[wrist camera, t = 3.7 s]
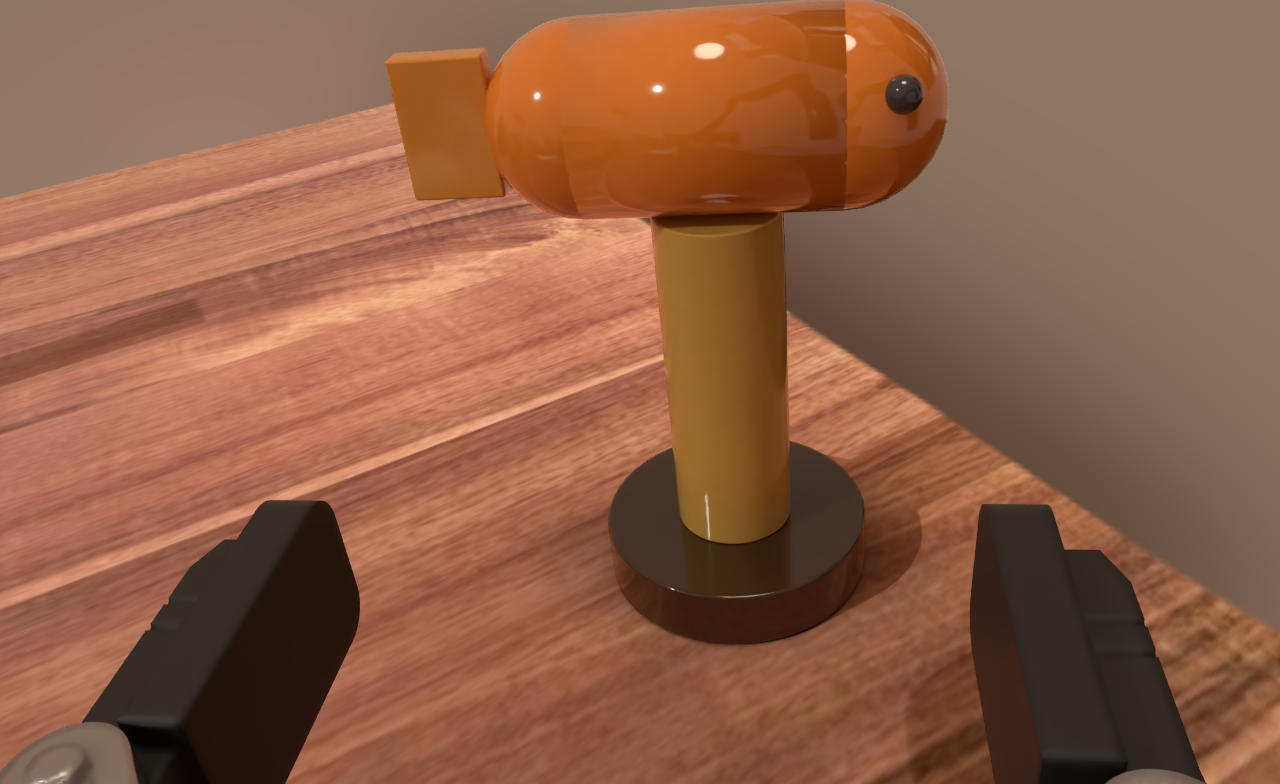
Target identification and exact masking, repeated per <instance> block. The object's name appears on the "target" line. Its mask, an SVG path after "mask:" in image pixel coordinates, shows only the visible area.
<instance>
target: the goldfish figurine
mask: <svg viewBox="0 0 1280 784" xmlns="http://www.w3.org/2000/svg"><path fill="white" fill-rule="evenodd" d="M386 67H387V72H388V76H389V81H390V86H391V90H392V95H393V99H394V104H395V108H396V113H397V117H398V122H399V126H400V130H401V135H402V139H403V144H404V148H405V153H406V157H407V162H408V166H409V171H410V175H411V180H412V184H413V188H414V193H415V197H416V200H442V199H467V198H492V197H504V196H506V194H507V192H508V190H509V189H510V186H511V188H512V189H513V190H514V191H515V192H516V193H517V194H519V195H520V196H521V197H522V198H524V199H525V200H526V201H527V202H529V203H530V204H532V205H533V206H535V207H537V208H539V209H541V210H543V211H545V212H548V213H551V214H555V215H558V216H562V217H565V218H570V219H585V220H592V219H619V218H645V217H646V218H647V217H650V221H651V232H652V242H653V252H654V262H655V272H656V283H657V293H658V303H659V313H660V323H661V334H662V344H663V354H664V364H665V374H666V385H667V395H668V405H669V415H670V425H671V435H672V446H673V448H670V449H668V450H665V451H663V452H661V453H659V454H657V455H655V456H654V457H652V458H650V459H649V460H647V461H646V462H644V463H643V464H642V465H640V466H639V467H638V468H636V469H635V470H634V471H633V472H632V473H631V474H630V475H629V476H628V477H627V478H626V479H625V480H624V482H623V483H622V484H621V486H620V487H619V488H618V490H617V492H616V494H615V496H614V498H613V500H612V503H611V506H610V509H609V517H608V527H609V536H610V543H611V549H612V556H613V563H614V570H615V574H616V578H617V581H618V583H619V585H620V588H621V590H622V592H623V593H624V595H625V596H626V597H627V599H628V600H629V601H630V603H631V604H632V605H633V606H634V607H635V608H636V609H637V610H638V611H639V612H640V613H641V614H643V615H644V616H645V617H647V618H648V619H649V620H651V621H652V622H654V623H656V624H657V625H659V626H661V627H663V628H665V629H667V630H669V631H672V632H674V633H677V634H679V635H682V636H686V637H689V638H693V639H696V640H702V641H708V642H714V643H727V644H743V643H756V642H764V641H770V640H774V639H779V638H783V637H786V636H789V635H792V634H795V633H798V632H801V631H803V630H805V629H807V628H809V627H812V626H814V625H815V624H817V623H819V622H820V621H822V620H824V619H825V618H827V617H828V616H830V615H831V614H832V613H833V612H835V611H836V610H837V609H838V608H839V607H840V606H841V605H842V604H843V603H844V602H845V601H846V600H847V599H848V598H849V596H850V595H851V593H852V592H853V590H854V589H855V587H856V586H857V583H858V581H859V579H860V577H861V574H862V570H863V565H864V545H865V507H864V501H863V498H862V496H861V493H860V491H859V489H858V487H857V485H856V484H855V482H854V481H853V479H852V478H851V477H850V475H849V474H848V473H847V472H846V471H845V470H844V469H843V468H842V467H841V466H840V465H838V464H837V463H836V462H835V461H833V460H832V459H830V458H829V457H827V456H826V455H824V454H822V453H820V452H818V451H816V450H814V449H812V448H810V447H807V446H804V445H802V444H799V443H796V442H792V441H790V435H789V394H788V354H787V313H786V273H785V235H784V233H785V232H784V213H785V212H812V211H840V210H850V209H858V208H864V207H867V206H870V205H873V204H876V203H879V202H882V201H884V200H886V199H888V198H890V197H891V196H893V195H895V194H897V193H898V192H900V191H902V190H903V189H904V188H905V187H906V186H908V185H909V184H910V183H911V182H912V181H914V180H915V179H916V178H917V177H918V176H919V175H920V174H921V172H922V171H923V170H924V169H925V168H926V166H927V165H928V164H929V163H930V161H931V160H932V158H933V157H934V155H935V153H936V151H937V149H938V147H939V145H940V143H941V141H942V139H943V135H944V132H945V129H946V125H947V122H948V117H949V109H950V87H949V81H948V77H947V73H946V69H945V66H944V61H943V60H942V58H941V56H940V54H939V52H938V50H937V48H936V46H935V44H934V42H933V41H932V39H931V38H930V37H929V36H928V35H927V33H926V32H925V31H924V30H923V28H922V27H921V26H920V25H919V24H918V23H916V22H915V21H914V20H913V19H911V18H910V17H909V16H908V15H906V14H905V13H904V12H902V11H900V10H898V9H895V8H894V7H891V6H889V5H888V4H885V3H881V2H878V1H874V0H799V1H785V2H769V3H755V4H740V5H725V6H711V7H696V8H681V9H666V10H651V11H636V12H622V13H607V14H592V15H578V16H570V17H564V18H558V19H554V20H551V21H549V22H546V23H544V24H541V25H539V26H536V27H535V28H534V29H532V30H531V31H529V32H528V33H526V34H525V35H524V36H522V37H520V38H519V39H518V40H517V41H516V42H515V43H514V44H513V45H512V46H511V47H510V48H509V49H508V50H507V51H506V52H505V53H504V55H503V56H502V58H501V60H500V61H499V63H498V65H497V66H496V68H495V70H494V71H493V74H492V73H491V68H490V61H489V55H488V51H487V49H486V48H472V49H458V50H457V49H456V50H440V51H425V52H409V53H396V54H394V55H392V56H391V57H390V58H389V59H388V60H387V61H386Z"/></svg>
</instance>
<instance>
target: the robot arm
mask: <svg viewBox="0 0 1280 784" xmlns="http://www.w3.org/2000/svg"><path fill="white" fill-rule="evenodd" d="M359 614H360V598H359V591H358V587H357V584H356V581H355V577H354V574H353V571H352V568H351V565H350V562H349V558H348V555H347V552H346V549H345V546H344V543H343V539H342V536H341V533H340V530H339V527H338V524H337V520H336V517H335V514H334V512H333V510H332V508H331V506H330V505H329V504H328V503H327V502H325V501H296V500H269V501H265V502H263V503H262V504H261V505H260V506H259V507H258V509H257V510H256V511H255V513H254V514H253V516H252V517H251V519H250V520H249V522H248V523H247V525H246V526H245V528H244V529H243V531H242V532H241V534H240V535H239V537H238V538H237V540H224V541H222V542H221V543H220V544H219V545H217V546H216V547H215V548H214V549H212V550H211V551H210V552H209V553H207V554H206V555H205V556H204V557H202V558H201V559H200V560H199V561H197V562H196V563H195V564H193V565H192V566H191V567H190V568H189V570H188V571H187V573H186V574H185V575H184V577H183V578H182V580H181V581H180V583H179V584H178V585H177V587H176V588H175V590H174V591H173V593H172V594H171V595H170V597H169V603H168V605H163V607H162V608H161V610H160V611H159V613H158V614H157V615H156V617H155V618H154V620H153V621H152V623H151V629H150V631H149V630H146V631H145V633H144V634H143V636H142V637H141V638H140V640H139V641H138V643H137V644H136V646H135V647H134V648H133V650H132V651H131V653H130V654H129V656H128V657H127V658H126V660H125V661H124V663H123V664H122V666H121V667H120V668H119V670H118V671H117V673H116V674H115V676H114V677H113V678H112V680H111V681H110V683H109V684H108V686H107V687H106V688H105V690H104V691H103V693H102V694H101V696H100V697H99V698H98V700H97V701H96V703H95V704H94V706H93V707H92V708H91V710H90V711H89V713H88V714H87V716H86V717H85V718H84V720H83V721H82V723H78V724H74V725H70V726H66V727H63V728H61V729H58V730H55V731H53V732H51V733H49V734H47V735H45V736H43V737H41V738H40V739H38V740H36V741H35V742H33V743H31V744H30V745H29V746H27V747H26V748H25V749H23V750H22V751H21V752H20V753H18V754H17V755H16V756H15V757H14V758H13V759H12V760H11V761H10V762H9V763H8V764H7V765H6V766H5V768H4V769H3V770H2V771H1V773H0V784H285V783H286V781H287V779H288V777H289V774H290V772H291V770H292V768H293V766H294V764H295V762H296V760H297V758H298V755H299V753H300V751H301V749H302V747H303V745H304V743H305V741H306V739H307V736H308V734H309V732H310V730H311V728H312V726H313V724H314V722H315V720H316V717H317V715H318V713H319V711H320V709H321V707H322V705H323V703H324V701H325V698H326V696H327V694H328V692H329V690H330V688H331V686H332V684H333V682H334V680H335V677H336V675H337V673H338V671H339V669H340V667H341V665H342V663H343V661H344V658H345V656H346V654H347V652H348V650H349V648H350V646H351V644H352V642H353V639H354V637H355V634H356V631H357V627H358V622H359ZM970 634H971V646H972V654H973V660H974V665H975V671H976V677H977V683H978V688H979V694H980V700H981V705H982V711H983V717H984V723H985V728H986V734H987V740H988V745H989V751H990V757H991V763H992V768H993V774H994V780H995V784H1207V783H1206V782H1205V780H1204V778H1203V776H1202V774H1201V772H1200V769H1199V767H1198V764H1197V761H1196V759H1195V756H1194V753H1193V750H1192V748H1191V745H1190V742H1189V739H1188V737H1187V734H1186V731H1185V729H1184V726H1183V723H1182V720H1181V718H1180V715H1179V712H1178V709H1177V707H1176V704H1175V701H1174V698H1173V696H1172V693H1171V690H1170V688H1169V685H1168V682H1167V679H1166V677H1165V674H1164V671H1163V668H1162V666H1161V663H1160V660H1159V658H1158V657H1156V654H1155V650H1156V649H1155V647H1154V644H1153V641H1152V638H1151V636H1150V633H1149V630H1148V628H1147V627H1145V625H1144V617H1143V614H1142V611H1141V608H1140V606H1139V603H1138V600H1137V598H1136V595H1135V592H1134V589H1133V587H1132V584H1131V582H1130V581H1129V580H1128V579H1127V578H1126V577H1125V576H1124V575H1123V574H1122V573H1121V572H1120V571H1119V570H1118V569H1117V568H1116V566H1115V565H1114V564H1113V563H1112V562H1111V561H1110V560H1109V559H1108V558H1107V557H1106V556H1105V555H1104V554H1103V553H1102V552H1101V551H1100V550H1064V547H1063V544H1062V541H1061V537H1060V534H1059V531H1058V527H1057V524H1056V521H1055V517H1054V514H1053V511H1052V509H1051V507H1050V506H1049V505H1019V504H983V505H982V506H981V509H980V513H979V520H978V530H977V540H976V550H975V560H974V569H973V579H972V589H971V600H970Z"/></svg>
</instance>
